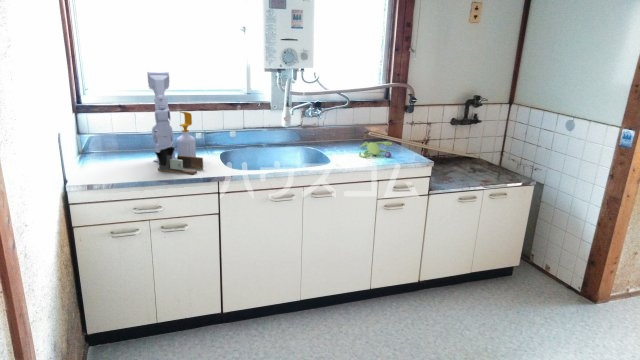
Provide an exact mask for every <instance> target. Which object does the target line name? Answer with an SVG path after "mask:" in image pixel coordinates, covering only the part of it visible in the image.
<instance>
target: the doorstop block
mask: <svg viewBox="0 0 640 360" xmlns="http://www.w3.org/2000/svg"><path fill="white" fill-rule="evenodd" d="M170 159H172V155H167V157H166V165H165V166H162V165H161V164H160V161H159V162H158V168H159V169H164V170H169V169H170Z"/></svg>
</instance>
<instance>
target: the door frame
mask: <svg viewBox="0 0 640 360" xmlns="http://www.w3.org/2000/svg"><path fill="white" fill-rule="evenodd" d="M176 157H177V160H183V170H177V169H169V170H164V169H159V167H158V168H157V171H159V172H167V173H176V174H184V175H192V176H193V175H195V174H198V172H197V170H204V159H203V157H200V156H199V157H198V156H196V157H190V156H181V155H178V154H177V156H176ZM184 168H187V169H184ZM192 169H194V170H192ZM195 169H196V170H195Z"/></svg>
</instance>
